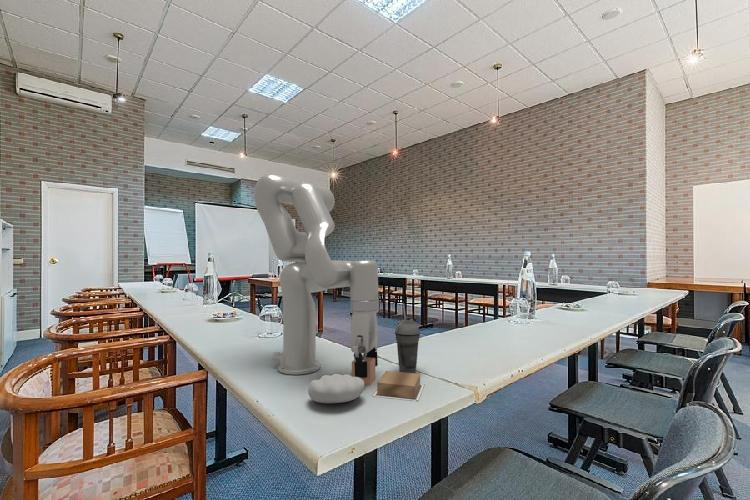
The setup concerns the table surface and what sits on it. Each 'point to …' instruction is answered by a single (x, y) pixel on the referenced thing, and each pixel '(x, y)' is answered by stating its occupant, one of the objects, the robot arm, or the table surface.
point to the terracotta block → (370, 371)
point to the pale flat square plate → (404, 398)
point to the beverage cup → (407, 344)
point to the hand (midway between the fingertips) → (366, 371)
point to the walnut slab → (398, 384)
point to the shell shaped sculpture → (336, 388)
